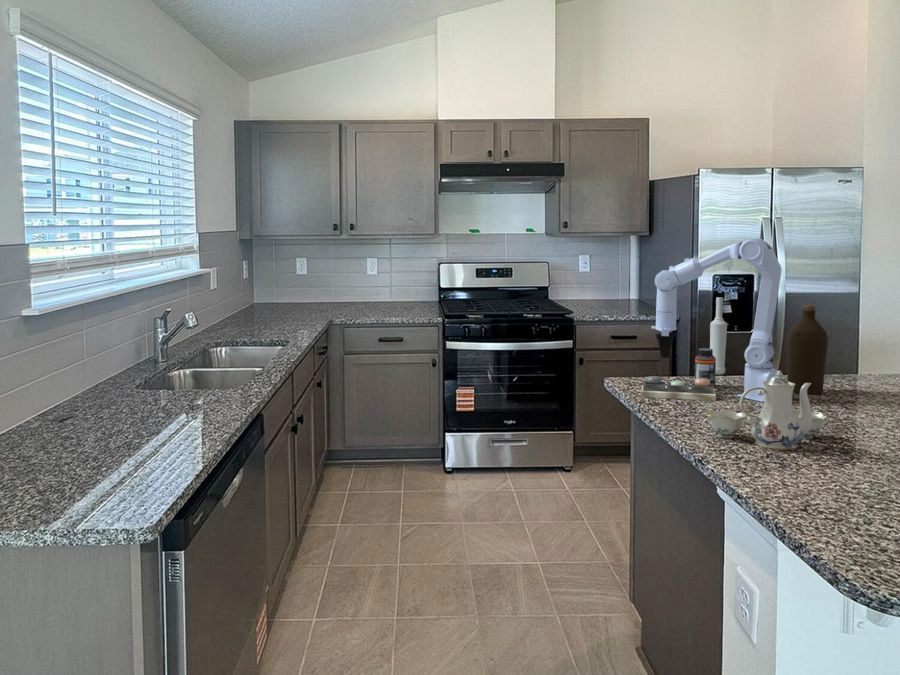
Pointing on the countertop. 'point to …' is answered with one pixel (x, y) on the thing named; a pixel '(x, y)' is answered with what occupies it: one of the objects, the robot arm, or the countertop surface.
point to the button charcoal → (654, 380)
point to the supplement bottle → (705, 365)
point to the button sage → (678, 383)
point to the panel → (678, 391)
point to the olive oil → (807, 353)
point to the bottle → (718, 337)
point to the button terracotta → (702, 382)
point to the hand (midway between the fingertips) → (664, 357)
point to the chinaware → (773, 417)
